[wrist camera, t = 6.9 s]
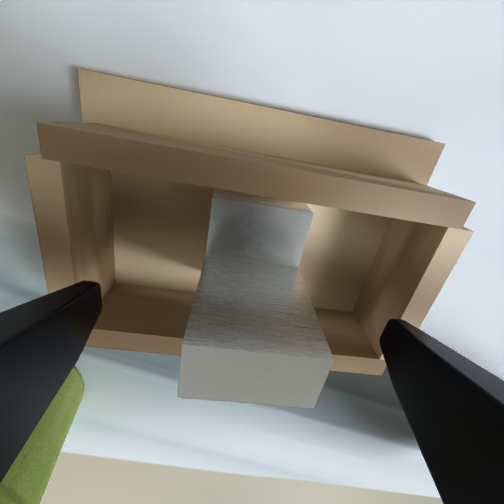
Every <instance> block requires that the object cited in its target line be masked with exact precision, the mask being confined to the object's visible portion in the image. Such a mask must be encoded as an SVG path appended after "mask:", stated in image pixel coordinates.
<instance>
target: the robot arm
mask: <svg viewBox="0 0 504 504" xmlns="http://www.w3.org/2000/svg"><path fill="white" fill-rule="evenodd" d="M101 311H102V295H101V285H100V283H98V282H94V281H86V280H84V281H81V282H78V283H76V284H73V285H70V286H68V287H65V288H63V289H60V290H58V291H55V292H52V293H50V294H47V295H45V296H42V297H40V298H37V299H34V300H32V301H29V302H27V303H24V304H21V305H19V306H16V307H14V308H11V309H9V310H6V311H3V312H1V313H0V483H1V482H2V480H3V479H4V477H5V475H6V474H7V472H8V471H9V469H10V467H11V466H12V464H13V463H14V461H15V460H16V458H17V456H18V455H19V453H20V452H21V450H22V448H23V447H24V445H25V444H26V442H27V440H28V439H29V437H30V436H31V434H32V432H33V431H34V429H35V428H36V426H37V425H38V423H39V421H40V420H41V418H42V417H43V415H44V413H45V412H46V410H47V409H48V407H49V405H50V404H51V402H52V401H53V399H54V397H55V396H56V394H57V393H58V391H59V390H60V388H61V386H62V385H63V383H64V382H65V380H66V378H67V377H68V375H69V374H70V372H71V370H72V369H73V367H74V365H75V364H76V362H77V360H78V358H79V357H80V355H81V353H82V351H83V349H84V347H85V344H86V342H87V340H88V338H89V336H90V334H91V332H92V330H93V328H94V326H95V324H96V322H97V320H98V318H99V316H100V313H101ZM379 343H380V347H381V350H382V353H383V356H384V360H385V363H386V366H387V369H388V372H389V375H390V378H391V381H392V384H393V387H394V390H395V392H396V395H397V397H398V399H399V402H400V404H401V406H402V409H403V411H404V413H405V416H406V418H407V420H408V423H409V425H410V427H411V430H412V432H413V434H414V436H415V439H416V441H417V443H418V446H419V448H420V450H421V453H422V455H423V457H424V460H425V462H426V464H427V467H428V469H429V471H430V474H431V476H432V478H433V480H434V483H435V485H436V487H437V490H438V492H439V494H440V497H441V499H442V501H443V504H504V381H503V380H501V379H500V378H498V377H496V376H495V375H493V374H491V373H490V372H488V371H487V370H485V369H483V368H482V367H480V366H478V365H477V364H475V363H474V362H472V361H470V360H469V359H467V358H465V357H464V356H462V355H460V354H459V353H457V352H456V351H454V350H452V349H451V348H449V347H447V346H446V345H444V344H443V343H441V342H439V341H438V340H436V339H434V338H433V337H431V336H429V335H428V334H426V333H425V332H423V331H421V330H420V329H418V328H416V327H415V326H413V325H412V324H410V323H408V322H407V321H405V320H402V319H394V318H392V319H389V320H388V322H387V324H386V326H385V328H384V330H383V332H382V334H381V336H380V339H379Z"/></svg>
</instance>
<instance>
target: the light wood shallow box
mask: <svg viewBox="0 0 504 504" xmlns="http://www.w3.org/2000/svg"><path fill="white" fill-rule="evenodd" d="M78 78H79V90H80V101H81V113H82V123H37V129H38V135H39V142H40V149H41V153H40V154H34V155H27V156H24V158H25V164H26V169H27V175H28V181H29V186H30V192H31V198H32V203H33V209H34V215H35V220H36V226H37V232H38V237H39V243H40V249H41V254H42V260H43V266H44V271H45V277H46V283H47V288H48V294H50V293H52V292H55V291H58V290H60V289H63V288H65V287H68V286H70V285H73V284H76V283H78V282H81V281H84V280H86V281H94V282H98V283H100V285H101V295H102V311H101V313H100V316H99V318H98V320H97V322H96V324H95V326H94V328H93V330H92V332H91V334H90V336H89V338H88V340H87V342H86V344H85V346H88V347H98V348H108V349H118V350H129V351H139V352H149V353H159V354H169V355H179V356H181V349H182V342H183V339H184V335H185V331H186V327H187V324H188V320H189V316H190V312H191V309H192V305H193V301H194V298H195V294H196V290H197V286H198V283H199V279H200V275H201V271H202V268H203V264H204V260H205V257H206V249H207V241H208V232H209V223H210V215H211V206H212V197H213V194H214V192H215V189H216V188H218V189H224V190H230V191H236V192H241V193H247V194H253V195H259V196H265V197H271V198H277V199H283V200H289V201H295V202H301V203H306V204H307V206H308V207H309V208H310V209H311V211H312V212H313V213H314V215H313V218H312V222H311V225H310V229H309V232H308V236H307V239H306V243H305V246H304V250H303V253H302V257H301V260H300V264H299V267H298V269H299V272H300V274H301V277H302V279H303V282H304V284H305V287H306V290H307V292H308V295H309V297H310V300H311V302H312V305H313V307H314V310H315V312H316V315H317V318H318V320H319V323H320V325H321V328H322V330H323V333H324V335H325V338H326V340H327V343H328V346H329V348H330V351H331V353H332V356H333V358H334V362H333V364H332V367H331V369H330V371H340V372H350V373H360V374H371V375H381V376H382V374H383V372H384V370H385V368H386V367H387V366H386V363H385V360H384V356H383V353H382V350H381V347H380V343H379V339H380V336H381V334H382V332H383V330H384V328H385V326H386V324H387V322H388V320H389V319H392V318H394V319H402V320H405V321H407V322H408V323H410V324H412V325H413V326H415V327H416V328H418V329H419V327H420V325H421V324H422V322H423V320H424V318H425V316H426V315H427V313H428V311H429V309H430V308H431V306H432V304H433V302H434V301H435V299H436V297H437V295H438V294H439V292H440V290H441V288H442V287H443V285H444V283H445V281H446V280H447V278H448V276H449V274H450V273H451V271H452V269H453V267H454V265H455V264H456V262H457V260H458V258H459V257H460V255H461V253H462V251H463V250H464V248H465V246H466V244H467V243H468V241H469V239H470V237H471V236H472V234H473V232H474V231H471V230H469V229H467V228H465V227H463V225H464V223H465V222H466V220H467V218H468V216H469V214H470V212H471V211H472V209H473V207H474V205H475V203H476V202H473V201H470V200H467V199H465V198H462V197H459V196H456V195H453V194H450V193H447V192H444V191H441V190H438V189H435V188H432V187H429V186H427V183H428V181H429V179H430V177H431V175H432V172H433V170H434V168H435V166H436V163H437V161H438V159H439V157H440V155H441V152H442V150H443V148H444V146H445V144H444V143H439V142H434V141H429V140H424V139H419V138H415V137H410V136H405V135H400V134H395V133H390V132H385V131H381V130H376V129H371V128H366V127H361V126H356V125H351V124H346V123H342V122H337V121H332V120H327V119H322V118H317V117H312V116H307V115H303V114H298V113H293V112H288V111H283V110H278V109H273V108H269V107H264V106H259V105H254V104H249V103H244V102H239V101H234V100H230V99H225V98H220V97H215V96H210V95H205V94H200V93H195V92H191V91H186V90H181V89H176V88H171V87H166V86H161V85H157V84H152V83H147V82H142V81H137V80H132V79H127V78H122V77H118V76H113V75H108V74H103V73H98V72H93V71H88V70H83V69H79V68H78Z"/></svg>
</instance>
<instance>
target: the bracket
mask: <svg viewBox="0 0 504 504" xmlns="http://www.w3.org/2000/svg"><path fill="white" fill-rule="evenodd" d="M313 215H314V213H313V212H312V211H311V209H310V208H309V207H308V206H307V204H306V203H301V202H295V201H289V200H283V199H277V198H271V197H265V196H259V195H253V194H247V193H241V192H236V191H230V190H224V189H218V188H216V189H215V192H214V194H213V197H212V206H211V215H210V223H209V232H208V241H207V249H206V257H205V260H204V264H203V268H202V271H201V275H200V279H199V283H198V286H197V290H196V294H195V298H194V301H193V305H192V309H191V312H190V316H189V320H188V324H187V327H186V331H185V335H184V339H183V342H182V349H181V361H180V372H179V384H178V396H177V397H178V398H190V399H203V400H215V401H227V402H239V403H251V404H263V405H276V406H288V407H300V408H312V409H314V407H315V405H316V402H317V400H318V397H319V395H320V393H321V390H322V388H323V386H324V383H325V381H326V379H327V376H328V374H329V371H330V369H331V367H332V364H333V362H334V358H333V356H332V353H331V351H330V348H329V346H328V343H327V340H326V338H325V335H324V333H323V330H322V328H321V325H320V323H319V320H318V318H317V315H316V312H315V310H314V307H313V305H312V302H311V300H310V297H309V295H308V292H307V290H306V287H305V284H304V282H303V279H302V277H301V274H300V272H299V269H298V267H299V264H300V260H301V257H302V253H303V250H304V246H305V243H306V239H307V236H308V232H309V229H310V225H311V222H312V218H313Z"/></svg>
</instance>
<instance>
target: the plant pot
mask: <svg viewBox="0 0 504 504" xmlns="http://www.w3.org/2000/svg"><path fill="white" fill-rule="evenodd" d="M83 390H84V383H83V380H82V378H81V376H80V374H79V372H78V371H77V370H76V369H75V368H74V367H73V369H72V370H71V372H70V374H69V375H68V377H67V378H66V380H65V382H64V383H63V385H62V386H61V388H60V390H59V391H58V393H57V394H56V396H55V397H54V399H53V401H52V402H51V404H50V405H49V407H48V409H47V410H46V412H45V413H44V415H43V417H42V418H41V420H40V421H39V423H38V425H37V426H36V428H35V429H34V431H33V432H32V434H31V436H30V437H29V439H28V440H27V442H26V444H25V445H24V447H23V448H22V450H21V452H20V453H19V455H18V456H17V458H16V460H15V461H14V463H13V464H12V466H11V467H10V469H9V471H8V472H7V474H6V475H5V477H4V479H3V480H2V482H1V483H0V504H40V501H41V498H42V496H43V494H44V491H45V488H46V486H47V483H48V481H49V478H50V476H51V473H52V471H53V468H54V466H55V463H56V461H57V458H58V456H59V453H60V450H61V448H62V445H63V443H64V441H65V438H66V436H67V433H68V431H69V428H70V426H71V424H72V421H73V419H74V416H75V414H76V412H77V409H78V407H79V404H80V402H81V399H82V395H83Z"/></svg>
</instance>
